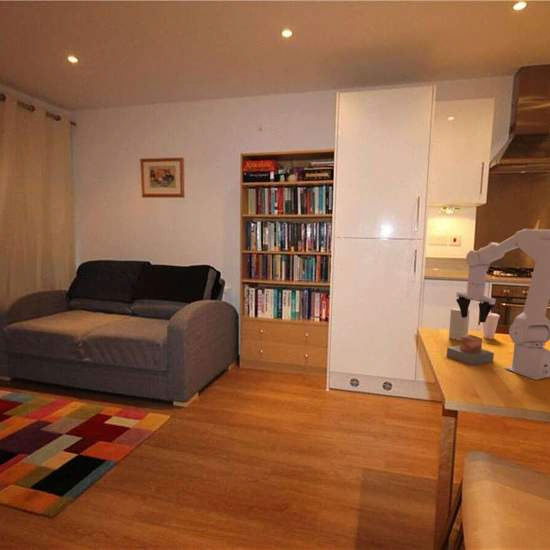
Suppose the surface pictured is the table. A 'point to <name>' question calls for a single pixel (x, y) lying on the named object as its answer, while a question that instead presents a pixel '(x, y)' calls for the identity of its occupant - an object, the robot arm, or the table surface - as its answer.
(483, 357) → the base block
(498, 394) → the table surface
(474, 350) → the cube
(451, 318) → the skincare box
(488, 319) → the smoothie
